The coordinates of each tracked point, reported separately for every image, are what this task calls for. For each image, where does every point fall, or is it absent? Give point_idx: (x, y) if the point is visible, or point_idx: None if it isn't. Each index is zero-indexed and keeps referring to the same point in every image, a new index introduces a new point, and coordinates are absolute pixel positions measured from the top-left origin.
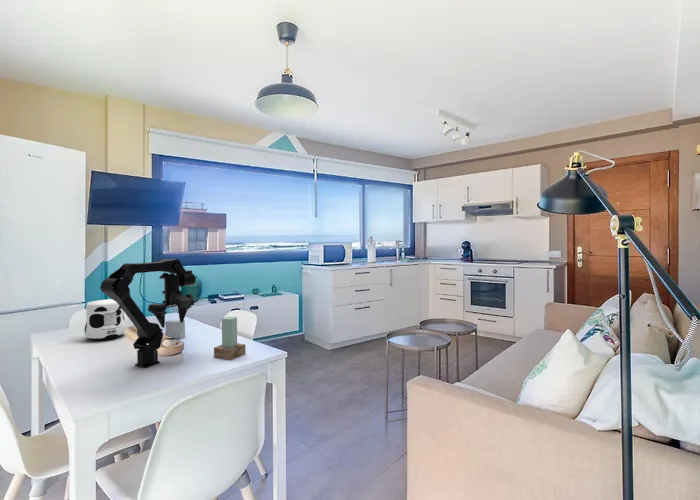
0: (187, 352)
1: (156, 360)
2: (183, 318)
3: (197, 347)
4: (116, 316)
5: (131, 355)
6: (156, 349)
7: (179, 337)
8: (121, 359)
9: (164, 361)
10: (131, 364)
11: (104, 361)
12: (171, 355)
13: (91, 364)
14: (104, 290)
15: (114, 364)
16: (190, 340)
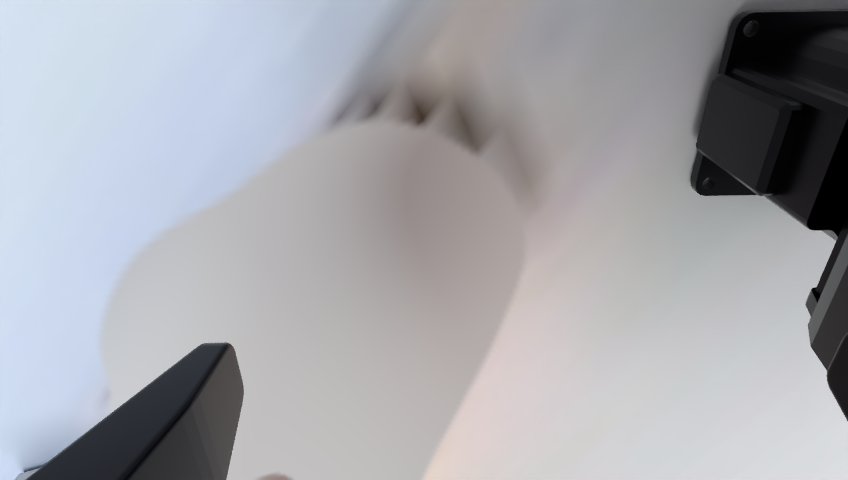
0: (308, 44)
1: (750, 62)
2: (135, 424)
3: (111, 98)
4: None
5: (600, 418)
6: (836, 99)
7: None
8: (704, 401)
9: (673, 11)
10: (813, 238)
11: (767, 451)
12: (474, 126)
13: (839, 463)
14: None
15: None
16: (39, 359)
